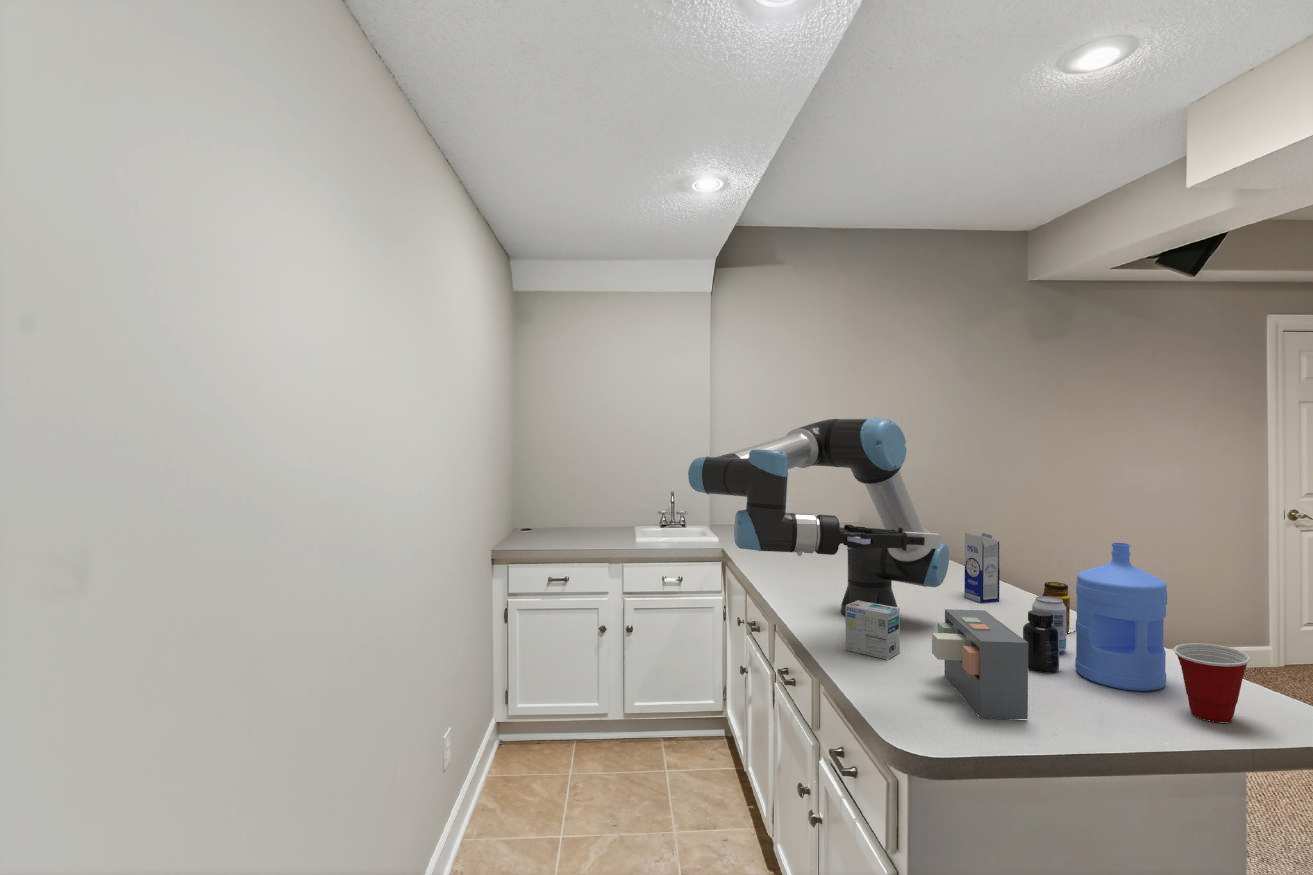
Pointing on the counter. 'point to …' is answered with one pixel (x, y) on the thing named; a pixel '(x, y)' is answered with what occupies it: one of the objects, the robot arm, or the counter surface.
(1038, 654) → the supplement bottle
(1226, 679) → the plastic cup
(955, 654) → the ivory key
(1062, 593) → the condiment
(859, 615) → the light bulb box
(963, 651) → the terracotta key
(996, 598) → the milk carton
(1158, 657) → the water jug
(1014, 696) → the key console
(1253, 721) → the counter surface
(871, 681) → the counter surface
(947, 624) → the sage key
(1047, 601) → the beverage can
